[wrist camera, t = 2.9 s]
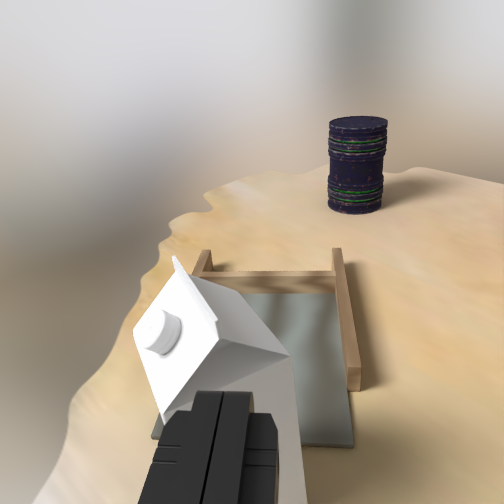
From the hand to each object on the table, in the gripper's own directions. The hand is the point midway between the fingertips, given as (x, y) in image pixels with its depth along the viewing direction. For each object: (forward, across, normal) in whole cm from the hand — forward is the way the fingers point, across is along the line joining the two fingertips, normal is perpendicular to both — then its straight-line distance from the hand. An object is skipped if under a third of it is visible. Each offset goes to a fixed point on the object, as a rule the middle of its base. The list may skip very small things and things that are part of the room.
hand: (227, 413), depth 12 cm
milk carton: (+11, +2, +21) cm, 24 cm away
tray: (+30, +2, +21) cm, 37 cm away
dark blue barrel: (+67, -12, +20) cm, 71 cm away
